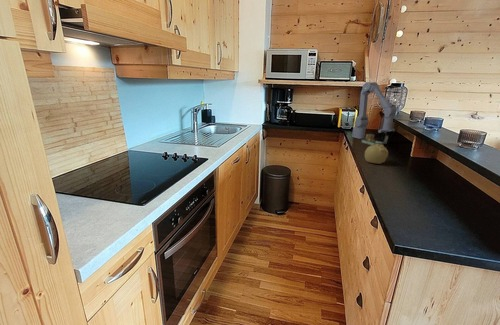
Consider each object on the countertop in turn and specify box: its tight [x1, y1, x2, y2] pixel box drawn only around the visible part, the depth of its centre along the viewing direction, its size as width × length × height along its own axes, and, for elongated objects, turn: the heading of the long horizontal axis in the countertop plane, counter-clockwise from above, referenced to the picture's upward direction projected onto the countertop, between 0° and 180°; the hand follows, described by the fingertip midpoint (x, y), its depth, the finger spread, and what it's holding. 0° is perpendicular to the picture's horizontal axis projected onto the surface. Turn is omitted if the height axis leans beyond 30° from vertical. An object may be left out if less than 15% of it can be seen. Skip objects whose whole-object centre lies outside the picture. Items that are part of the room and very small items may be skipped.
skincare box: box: [379, 115, 395, 133], centre depth 222 cm, size 8×7×16 cm
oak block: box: [364, 133, 375, 143], centre depth 194 cm, size 4×4×6 cm
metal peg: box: [383, 135, 389, 145], centre depth 194 cm, size 4×4×6 cm
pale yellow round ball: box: [364, 144, 389, 165], centre depth 147 cm, size 12×12×11 cm
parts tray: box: [360, 139, 384, 146], centre depth 193 cm, size 12×9×2 cm
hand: (384, 141), depth 194 cm, fingers open, 6 cm apart
